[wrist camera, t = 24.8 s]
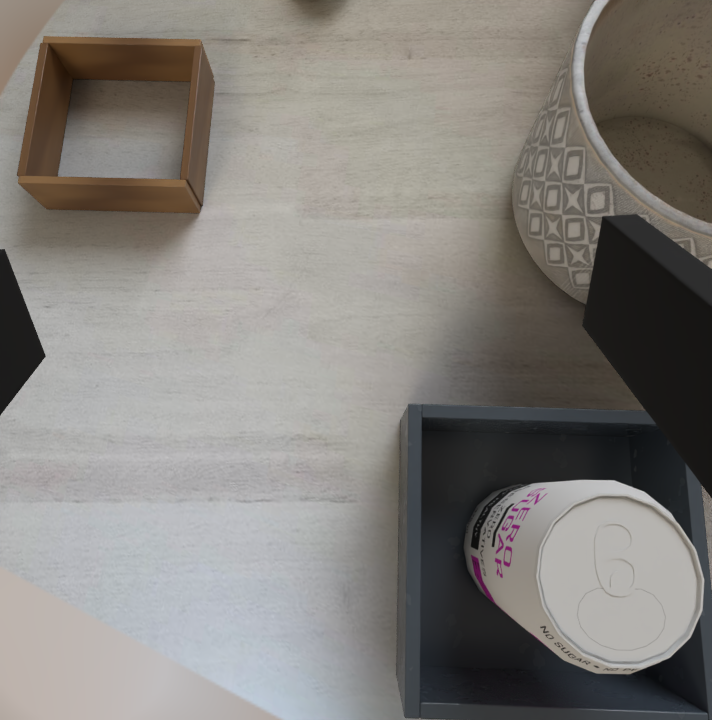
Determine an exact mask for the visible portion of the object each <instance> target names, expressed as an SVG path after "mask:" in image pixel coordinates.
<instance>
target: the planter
mask: <svg viewBox="0 0 712 720" xmlns="http://www.w3.org/2000/svg"><path fill="white" fill-rule="evenodd" d="M512 206H513V211H514V216H515V222H516V225H517V228H518V231H519V233H520V236H521V239H522V241H523V243H524V245H525V247H526V249H527V250H528V252H529V254H530V256H531V257H532V259H533V260H534V261H535V263H536V264H537V265H538V267H539V268H540V269H541V270H542V272H543V273H544V274H545V275H546V276H547V277H548V278H549V279H550V280H551V281H552V282H553V283H554V284H556V285H557V286H558V287H559V288H560V289H561V290H563V291H564V292H566V293H567V294H569V295H570V296H571V297H573V298H574V299H576V300H578V301H580V302H582V303H583V304H585V305H586V303H587V297H588V292H589V286H590V281H591V276H592V270H593V265H594V259H595V254H596V248H597V243H598V238H599V232H600V227H601V221H602V216H614V215H632V214H637V215H639V216H640V217H641V218H643V219H644V220H646V221H647V222H648V223H650V224H651V225H652V226H654V227H655V228H657V229H658V230H659V231H661V232H662V233H663V234H665V235H666V236H667V237H669V238H670V239H672V240H673V241H674V242H676V243H677V244H678V245H680V246H681V247H682V248H684V249H685V250H687V251H688V252H689V253H691V254H692V255H693V256H695V257H696V258H697V259H699V260H700V261H702V262H703V263H704V264H706V265H707V266H708V267H710V268H711V269H712V0H595V1H594V2H593V3H592V5H591V7H590V9H589V10H588V12H587V14H586V16H585V17H584V19H583V21H582V23H581V25H580V27H579V29H578V31H577V33H576V35H575V38H574V40H573V42H572V44H571V46H570V48H569V51H568V53H567V55H566V57H565V59H564V61H563V63H562V66H561V68H560V70H559V72H558V74H557V76H556V78H555V81H554V83H553V85H552V87H551V89H550V91H549V93H548V96H547V98H546V100H545V102H544V104H543V106H542V109H541V111H540V113H539V115H538V117H537V119H536V121H535V124H534V126H533V128H532V130H531V132H530V134H529V136H528V139H527V141H526V143H525V145H524V147H523V149H522V152H521V154H520V157H519V159H518V162H517V165H516V168H515V172H514V178H513V185H512Z"/></svg>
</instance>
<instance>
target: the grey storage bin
mask: <svg viewBox="0 0 712 720" xmlns="http://www.w3.org/2000/svg"><path fill="white" fill-rule="evenodd" d="M574 480H614V481H617V482H620V483H622V484H625V485H628V486H630V487H633V488H636V489H638V490H641V491H644V492H645V493H647V494H648V495H649V496H650V497H652V498H653V499H654V500H655V501H657V502H658V503H659V504H660V505H662V506H663V507H664V508H665V509H666V510H668V511H669V512H670V513H671V514H672V515H673V517H674V519H675V520H676V522H677V523H679V525H680V526H681V528H682V529H683V531H684V532H685V534H686V535H687V537H688V538H689V540H690V541H691V543H692V544H693V546H694V547H695V549H696V552H697V555H698V559H699V562H700V566H701V570H702V573H703V577H704V594H703V611H702V613H701V615H700V617H699V620H698V622H697V624H696V626H695V629H694V631H693V633H692V636H691V638H690V639H689V640H688V641H687V642H686V643H685V644H684V645H682V646H681V647H680V648H679V649H678V650H677V651H676V652H675V653H674V654H673V655H672V656H671V657H670V658H668V659H666V660H663V661H661V662H660V663H657V664H655V665H652V666H649V667H647V668H644V669H642V670H639V671H636V672H634V673H631V674H597V673H594V672H591V671H589V670H586V669H584V668H581V667H579V666H576V665H574V664H571V663H569V662H566V661H564V660H563V659H561V658H560V657H559V656H558V655H556V654H555V653H554V652H553V651H552V650H550V649H549V648H548V647H547V646H545V645H544V644H543V643H542V642H540V641H539V640H538V639H537V638H536V637H534V636H533V635H532V634H531V633H529V632H528V631H527V630H526V629H525V628H523V627H522V626H521V625H520V624H518V623H517V622H516V621H515V620H513V619H512V618H511V617H510V616H509V615H507V614H506V613H505V612H504V611H502V610H501V609H500V608H499V607H497V606H496V605H495V604H494V603H493V602H492V601H491V600H490V599H488V598H487V597H486V596H485V595H484V594H483V593H482V592H480V591H479V589H478V587H477V585H476V584H475V582H474V580H473V578H472V577H471V575H470V573H469V571H468V568H467V563H466V558H465V553H464V548H463V547H464V540H465V533H466V526H467V524H468V522H469V520H470V518H471V516H472V514H473V512H474V511H475V509H476V507H477V505H479V504H480V503H481V502H482V501H483V500H484V499H485V498H487V497H488V496H489V495H490V494H491V493H492V492H494V491H497V490H500V489H503V488H505V487H508V486H511V485H517V484H531V483H545V482H559V481H574ZM396 675H397V680H398V685H399V691H400V696H401V701H402V706H403V711H404V716H405V718H417V719H418V718H422V719H446V720H712V590H711V580H710V569H709V559H708V549H707V539H706V529H705V518H704V508H703V498H702V488H701V483H700V482H699V480H698V479H697V478H696V476H695V475H694V474H693V472H692V471H691V470H690V468H689V467H688V466H687V464H686V463H685V462H684V460H683V459H682V458H681V456H680V455H679V454H678V452H677V451H676V450H675V448H674V447H673V446H672V444H671V443H670V442H669V440H668V439H667V438H666V436H665V435H664V434H663V432H662V431H661V430H660V429H659V427H658V426H657V425H656V423H655V422H654V421H653V419H652V418H651V417H650V415H649V414H648V413H647V411H639V410H605V409H572V408H539V407H506V406H472V405H439V404H408V406H407V408H406V410H405V412H404V414H403V416H402V418H401V420H400V463H399V529H398V596H397V663H396Z"/></svg>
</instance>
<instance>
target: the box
mask: <svg viewBox="0 0 712 720" xmlns="http://www.w3.org/2000/svg"><path fill="white" fill-rule="evenodd" d="M213 78H214V76H213V73H212V70H211V67H210V64H209V62H208V59H207V56H206V53H205V50H204V47H203V44H202V42H201V40H198V39H149V38H100V37H51V36H44V38H43V43H41V44H40V49H39V55H38V60H37V66H36V72H35V77H34V83H33V88H32V94H31V100H30V105H29V111H28V116H27V122H26V128H25V133H24V139H23V144H22V150H21V156H20V161H19V167H18V172H17V176H18V177H19V179H18V184H20V185H21V186H22V187H23V188H24V189H25V190H26V191H27V192H28V193H29V194H31V195H32V196H33V197H34V198H35V199H36V200H37V201H38V202H39V203H40V204H41V205H43V206H44V207H45V208H46V209H54V210H94V211H134V212H174V213H200V208H201V206H203V197H204V187H205V176H206V166H207V156H208V146H209V136H210V126H211V116H212V106H213V95H214V85H215V82H214V79H213ZM73 79H96V80H142V81H189V82H191V84H190V93H189V102H188V111H187V120H186V129H185V138H184V148H183V157H182V166H181V175H180V180H175V179H134V178H92V177H57V176H58V170H59V164H60V157H61V151H62V145H63V139H64V133H65V126H66V120H67V114H68V108H69V102H70V95H71V89H72V83H73Z"/></svg>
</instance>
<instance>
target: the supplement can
mask: <svg viewBox="0 0 712 720" xmlns="http://www.w3.org/2000/svg"><path fill="white" fill-rule="evenodd" d="M463 548H464V553H465V558H466V563H467V568H468V571H469V573H470V575H471V577H472V578H473V580H474V582H475V584H476V585H477V587H478V589H479V591H480V592H482V593H483V594H484V595H485V596H486V597H487V598H488V599H490V600H491V601H492V602H493V603H494V604H495V605H496V606H497V607H499V608H500V609H501V610H502V611H504V612H505V613H506V614H507V615H509V616H510V617H511V618H512V619H513V620H515V621H516V622H517V623H518V624H520V625H521V626H522V627H523V628H525V629H526V630H527V631H528V632H529V633H531V634H532V635H533V636H534V637H536V638H537V639H538V640H539V641H540V642H542V643H543V644H544V645H545V646H547V647H548V648H549V649H550V650H552V651H553V652H554V653H555V654H556V655H558V656H559V657H560V658H561V659H563V660H564V661H566V662H569V663H571V664H574V665H576V666H579V667H581V668H584V669H586V670H589V671H591V672H594V673H597V674H631V673H634V672H636V671H639V670H642V669H644V668H647V667H649V666H652V665H655V664H657V663H660V662H661V661H663V660H666V659H668V658H670V657H671V656H672V655H673V654H674V653H675V652H676V651H677V650H678V649H679V648H680V647H681V646H682V645H684V644H685V643H686V642H687V641H688V640H689V639H690V638H691V636H692V633H693V631H694V629H695V626H696V624H697V622H698V620H699V617H700V615H701V613H702V611H703V594H704V577H703V573H702V570H701V566H700V562H699V559H698V555H697V552H696V549H695V547H694V546H693V544H692V543H691V541H690V540H689V538H688V537H687V535H686V534H685V532H684V531H683V529H682V528H681V526H680V525H679V523H677V522H676V520H675V519H674V517H673V515H672V514H671V513H670V512H669V511H668V510H666V509H665V508H664V507H663V506H662V505H660V504H659V503H658V502H657V501H655V500H654V499H653V498H652V497H650V496H649V495H648V494H647V493H645V492H644V491H641V490H638V489H636V488H633V487H630V486H628V485H625V484H622V483H620V482H617V481H614V480H574V481H559V482H545V483H531V484H517V485H511V486H508V487H505V488H503V489H500V490H497V491H494V492H492V493H491V494H490V495H489V496H488V497H487V498H485V499H484V500H483V501H482V502H481V503H480V504H479V505H477V507H476V509H475V511H474V512H473V514H472V516H471V518H470V520H469V522H468V524H467V526H466V533H465V540H464V547H463Z"/></svg>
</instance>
